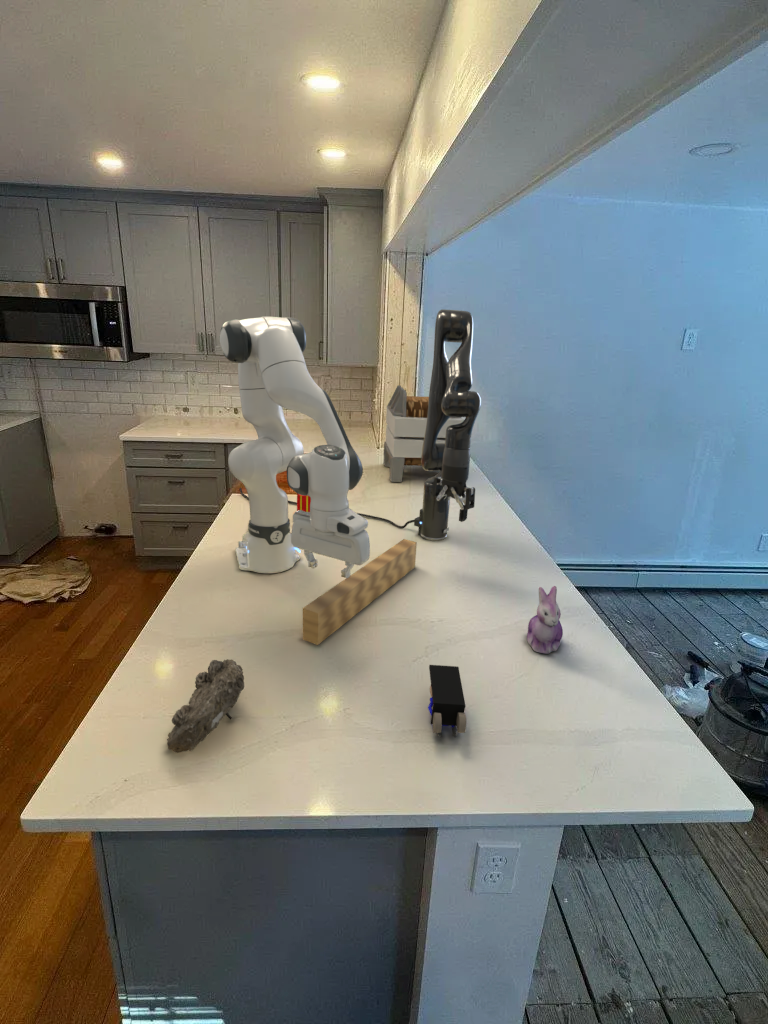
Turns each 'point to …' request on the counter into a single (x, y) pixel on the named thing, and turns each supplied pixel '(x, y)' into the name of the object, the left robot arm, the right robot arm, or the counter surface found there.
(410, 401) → the grey slatted crate
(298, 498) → the toy
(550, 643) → the figurine
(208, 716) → the fossil
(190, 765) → the counter surface
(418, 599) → the counter surface
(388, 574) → the post
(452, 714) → the black wheeled block
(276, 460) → the left robot arm
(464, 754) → the counter surface
